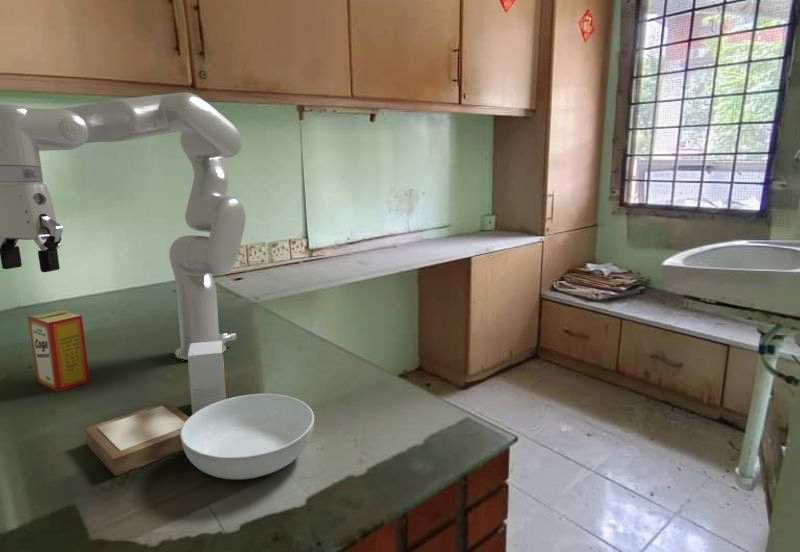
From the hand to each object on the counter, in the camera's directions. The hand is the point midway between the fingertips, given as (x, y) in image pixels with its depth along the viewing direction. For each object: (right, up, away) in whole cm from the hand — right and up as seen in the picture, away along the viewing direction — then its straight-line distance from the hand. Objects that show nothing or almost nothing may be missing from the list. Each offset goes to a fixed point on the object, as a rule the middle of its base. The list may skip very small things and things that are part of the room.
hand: (31, 269), depth 90 cm
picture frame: (+25, -31, -6) cm, 40 cm away
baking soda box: (-7, -26, +19) cm, 33 cm away
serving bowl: (+45, -32, -10) cm, 56 cm away
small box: (+31, -28, +7) cm, 43 cm away
